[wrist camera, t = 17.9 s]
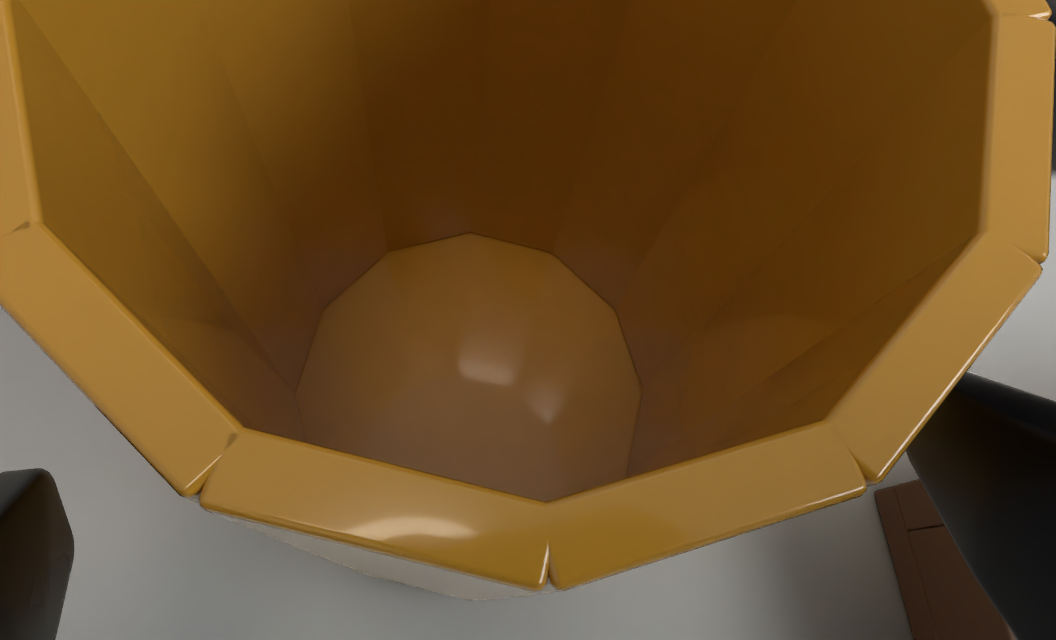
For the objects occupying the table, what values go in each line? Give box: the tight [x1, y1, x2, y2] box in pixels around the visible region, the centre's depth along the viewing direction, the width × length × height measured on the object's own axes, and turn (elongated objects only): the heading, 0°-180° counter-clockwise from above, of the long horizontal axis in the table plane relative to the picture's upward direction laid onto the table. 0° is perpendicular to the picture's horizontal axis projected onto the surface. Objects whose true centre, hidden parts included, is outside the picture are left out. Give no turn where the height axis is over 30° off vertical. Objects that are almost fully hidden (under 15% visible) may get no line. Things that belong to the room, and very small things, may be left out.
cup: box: [0, 0, 1056, 601], centre depth 11 cm, size 7×7×11 cm
